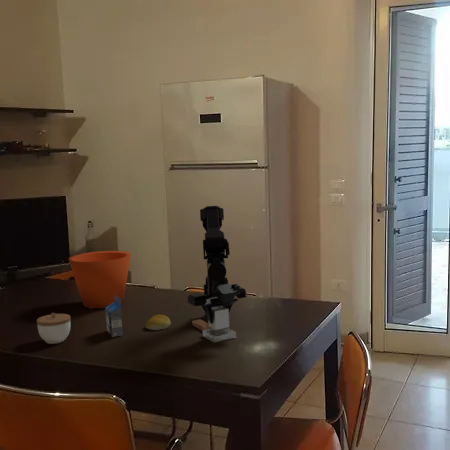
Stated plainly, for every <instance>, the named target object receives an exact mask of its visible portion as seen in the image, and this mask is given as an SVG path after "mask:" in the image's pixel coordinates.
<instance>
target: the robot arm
mask: <svg viewBox="0 0 450 450" xmlns="http://www.w3.org/2000/svg"><path fill="white" fill-rule="evenodd" d="M224 213H225V212H224V208H222V207H220V206H217V205H207V206H204V207H203V208H201V209H199V219H200V222H202V227H203V229H204V231H205V233H204V239H202V248H203V249H202V250H203V251H202V252H203V260H206V271H207V276H205V280H204V281H205V283H204V284H203V293H201V292H196V293H190V294H189V295H188V296H187V303H188V304H190V305H192V306H193V307H201V308H202V310H203V312H204V314H205V316H206V318H207V321H208V320H209V322H210V323H211V324H212V322H213V318H212V307H216V306H223V307H226V308H228V309H229V314H230V312H231V310H232V309H231V308H232V306H233V305H234V304H235V303H236V302H238V300H239V299H244V298H247V291H246V289H245V288H243V287H241V286H240V284H239V283H233V284H230V283H229V280H228V277H226V275H227V268H226V262H225V259H229V256H230V254H231V253H230V243H229V242H230V241H228V239H227V238H225V232H223V231H222V230H221V228H222V226H223V221H224V220H225V216H224Z"/></svg>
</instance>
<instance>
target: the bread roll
mask: <svg viewBox="0 0 450 450" xmlns="http://www.w3.org/2000/svg"><path fill="white" fill-rule="evenodd" d="M170 326H171V319H170V318H169V317H168V316H166V315H164V314H156V315H153V316H151V317H150V318H149V319H148V320H147V322H146V323H145V328H146V329H148V330H151V331H161V329H162V330H166V329H168V328H170Z"/></svg>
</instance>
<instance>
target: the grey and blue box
mask: <svg viewBox="0 0 450 450" xmlns="http://www.w3.org/2000/svg"><path fill="white" fill-rule="evenodd" d="M117 300H118V301H119V303H118V302H117ZM104 311H105V321H106V332H108V334H109V335H110V337H112V338H116V337H117V336H119V337H123V336H124V335H123V321H122V318H123V317H122V304H121V300H120V299H119V298H118V297H117V296H116V295H115V302H114V303H112V304H110V305H109V306H107V307H106V308H104ZM117 338H118V337H117Z"/></svg>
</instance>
